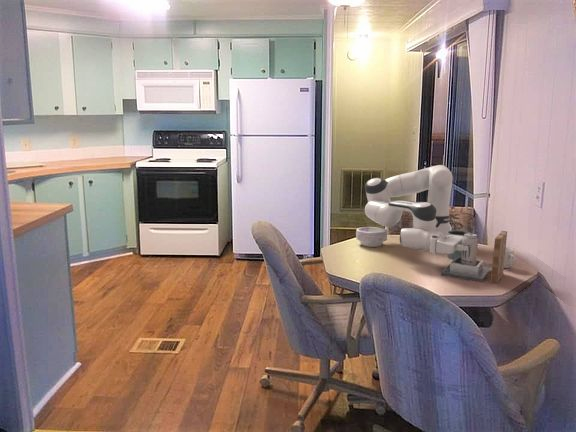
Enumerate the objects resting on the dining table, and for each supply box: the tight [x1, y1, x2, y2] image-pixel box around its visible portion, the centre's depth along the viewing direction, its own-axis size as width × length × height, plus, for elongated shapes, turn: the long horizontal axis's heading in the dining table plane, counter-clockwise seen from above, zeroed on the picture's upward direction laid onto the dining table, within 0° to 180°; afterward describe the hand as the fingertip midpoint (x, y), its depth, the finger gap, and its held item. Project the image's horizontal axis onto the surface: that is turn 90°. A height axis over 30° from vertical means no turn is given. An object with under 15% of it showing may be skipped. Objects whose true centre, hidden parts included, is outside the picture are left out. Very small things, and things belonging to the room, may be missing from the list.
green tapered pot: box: [447, 229, 471, 261], centre depth 236 cm, size 10×10×12 cm
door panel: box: [490, 230, 508, 285], centre depth 206 cm, size 16×2×18 cm, turn 149°
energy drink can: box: [460, 232, 479, 266], centre depth 212 cm, size 6×6×15 cm
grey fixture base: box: [440, 257, 492, 283], centre depth 214 cm, size 18×16×5 cm
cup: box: [503, 246, 516, 269], centre depth 222 cm, size 11×8×8 cm
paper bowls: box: [355, 226, 388, 248], centre depth 258 cm, size 15×15×8 cm
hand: (470, 246), depth 211 cm, fingers open, 6 cm apart
